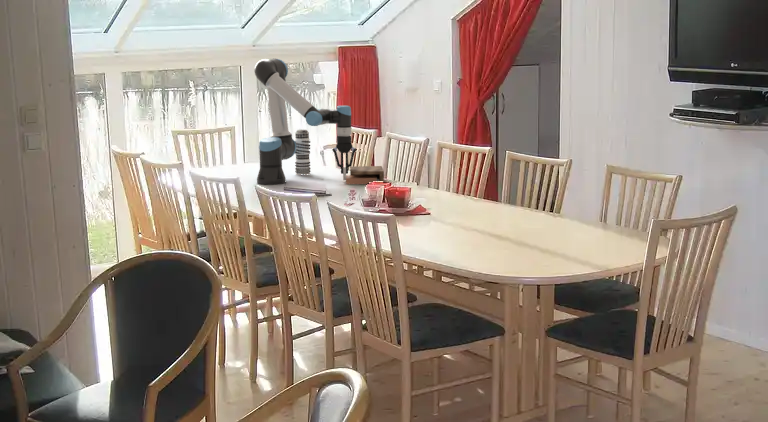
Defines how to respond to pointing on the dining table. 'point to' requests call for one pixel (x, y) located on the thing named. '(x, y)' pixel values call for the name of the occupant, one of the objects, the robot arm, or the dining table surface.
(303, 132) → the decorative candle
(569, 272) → the dining table surface
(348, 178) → the terracotta tile
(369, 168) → the walnut shelf
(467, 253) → the dining table surface
